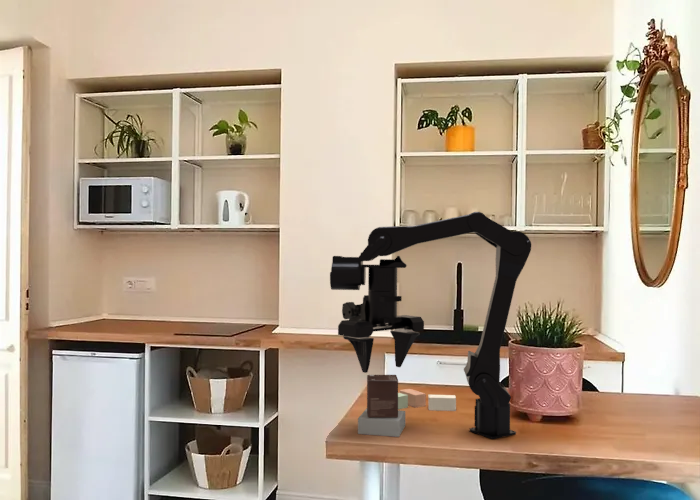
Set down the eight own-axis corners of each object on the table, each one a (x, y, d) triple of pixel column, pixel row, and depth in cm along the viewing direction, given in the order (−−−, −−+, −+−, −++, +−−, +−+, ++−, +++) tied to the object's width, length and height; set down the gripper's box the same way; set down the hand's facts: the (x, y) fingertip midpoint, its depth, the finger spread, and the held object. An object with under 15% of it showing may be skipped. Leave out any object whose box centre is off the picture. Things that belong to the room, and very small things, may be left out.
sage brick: (398, 405, 145) (398, 392, 145) (407, 408, 142) (407, 395, 142) (379, 409, 141) (379, 396, 141) (388, 412, 139) (388, 398, 139)
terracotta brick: (425, 406, 144) (425, 393, 144) (415, 408, 142) (415, 395, 142) (409, 401, 149) (409, 388, 149) (399, 402, 147) (399, 390, 147)
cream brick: (455, 408, 142) (455, 395, 142) (456, 411, 139) (456, 398, 139) (428, 407, 143) (428, 394, 143) (428, 411, 140) (428, 397, 140)
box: (398, 418, 121) (398, 380, 121) (367, 418, 121) (367, 380, 121) (396, 410, 127) (396, 374, 127) (366, 410, 127) (366, 374, 127)
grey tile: (405, 425, 127) (405, 410, 127) (398, 436, 119) (399, 421, 120) (366, 422, 129) (366, 408, 129) (357, 433, 121) (357, 418, 121)
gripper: (387, 287, 137) (386, 359, 137) (320, 290, 124) (319, 369, 124) (426, 289, 128) (425, 366, 128) (358, 293, 116) (357, 378, 116)
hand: (382, 369), depth 124 cm, fingers open, 9 cm apart
